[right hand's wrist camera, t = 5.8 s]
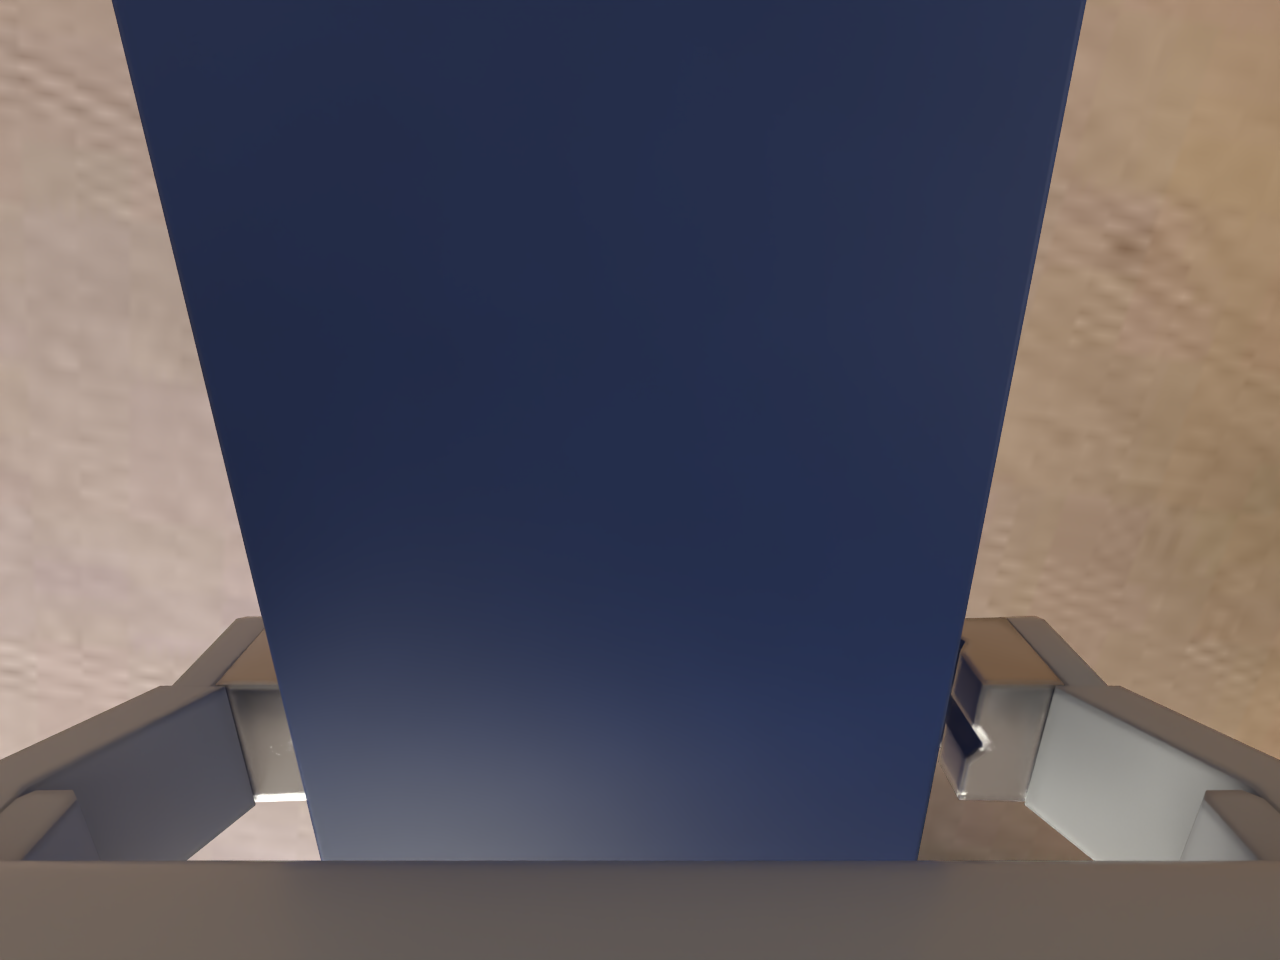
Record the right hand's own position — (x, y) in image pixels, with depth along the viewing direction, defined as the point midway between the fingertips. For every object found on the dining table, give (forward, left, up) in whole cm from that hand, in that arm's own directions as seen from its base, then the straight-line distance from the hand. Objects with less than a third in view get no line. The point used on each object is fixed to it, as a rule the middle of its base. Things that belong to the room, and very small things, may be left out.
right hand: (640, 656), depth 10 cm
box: (0, +10, -8) cm, 13 cm away
